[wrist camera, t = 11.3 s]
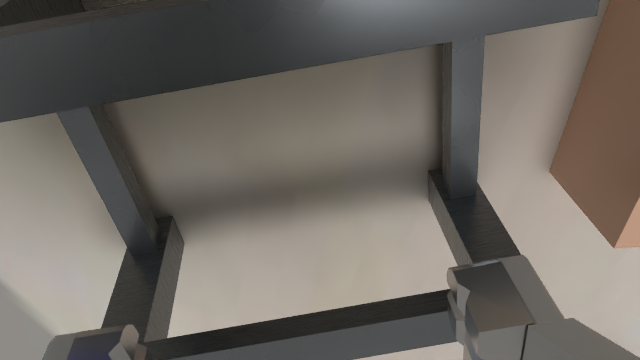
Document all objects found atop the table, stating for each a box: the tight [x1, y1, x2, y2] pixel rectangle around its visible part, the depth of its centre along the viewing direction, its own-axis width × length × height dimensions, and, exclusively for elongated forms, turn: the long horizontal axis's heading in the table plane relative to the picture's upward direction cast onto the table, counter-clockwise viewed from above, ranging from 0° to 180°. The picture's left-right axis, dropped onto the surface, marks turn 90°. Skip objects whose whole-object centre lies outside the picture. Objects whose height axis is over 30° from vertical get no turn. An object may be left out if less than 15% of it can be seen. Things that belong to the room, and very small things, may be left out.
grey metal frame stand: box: [0, 0, 600, 360], centre depth 15 cm, size 12×14×7 cm
